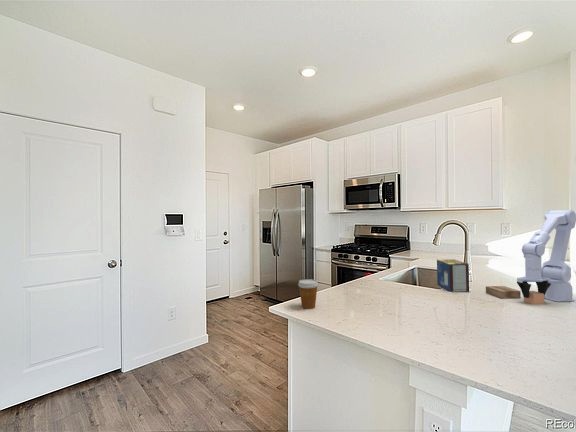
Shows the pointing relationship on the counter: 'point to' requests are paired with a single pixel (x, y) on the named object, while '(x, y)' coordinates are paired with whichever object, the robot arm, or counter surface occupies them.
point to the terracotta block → (535, 298)
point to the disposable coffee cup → (308, 293)
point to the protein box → (453, 275)
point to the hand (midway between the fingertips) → (533, 297)
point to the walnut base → (503, 292)
